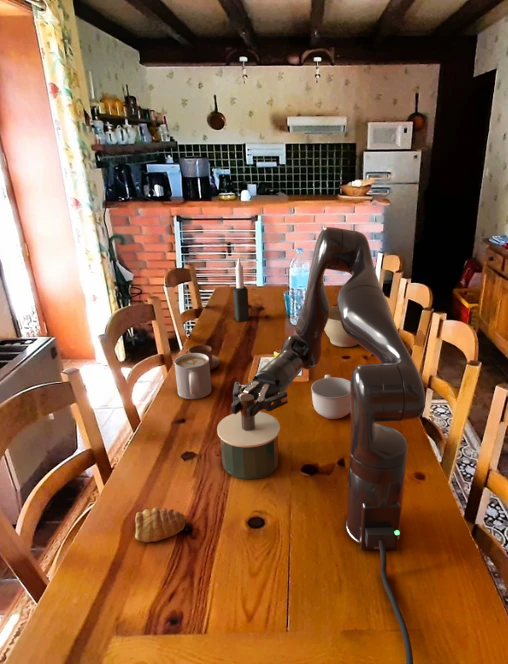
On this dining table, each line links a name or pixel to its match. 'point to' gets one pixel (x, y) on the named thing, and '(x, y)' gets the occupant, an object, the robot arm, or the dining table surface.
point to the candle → (240, 295)
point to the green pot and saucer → (206, 351)
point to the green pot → (250, 459)
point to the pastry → (158, 524)
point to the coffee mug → (193, 375)
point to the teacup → (331, 397)
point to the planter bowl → (337, 330)
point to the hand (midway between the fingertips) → (241, 412)
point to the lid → (248, 426)
